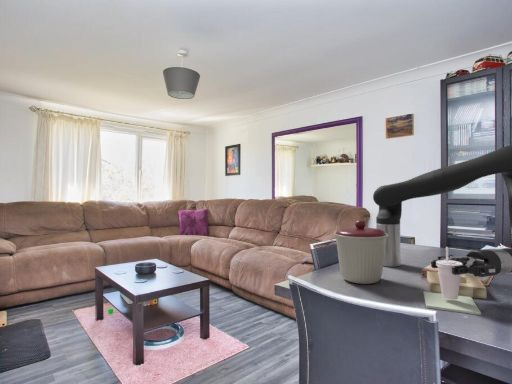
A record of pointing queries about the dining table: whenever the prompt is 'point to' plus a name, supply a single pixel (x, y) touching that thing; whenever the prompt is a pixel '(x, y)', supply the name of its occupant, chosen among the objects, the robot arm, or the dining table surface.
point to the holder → (467, 287)
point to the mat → (451, 303)
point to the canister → (361, 253)
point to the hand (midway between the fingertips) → (442, 267)
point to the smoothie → (448, 278)
